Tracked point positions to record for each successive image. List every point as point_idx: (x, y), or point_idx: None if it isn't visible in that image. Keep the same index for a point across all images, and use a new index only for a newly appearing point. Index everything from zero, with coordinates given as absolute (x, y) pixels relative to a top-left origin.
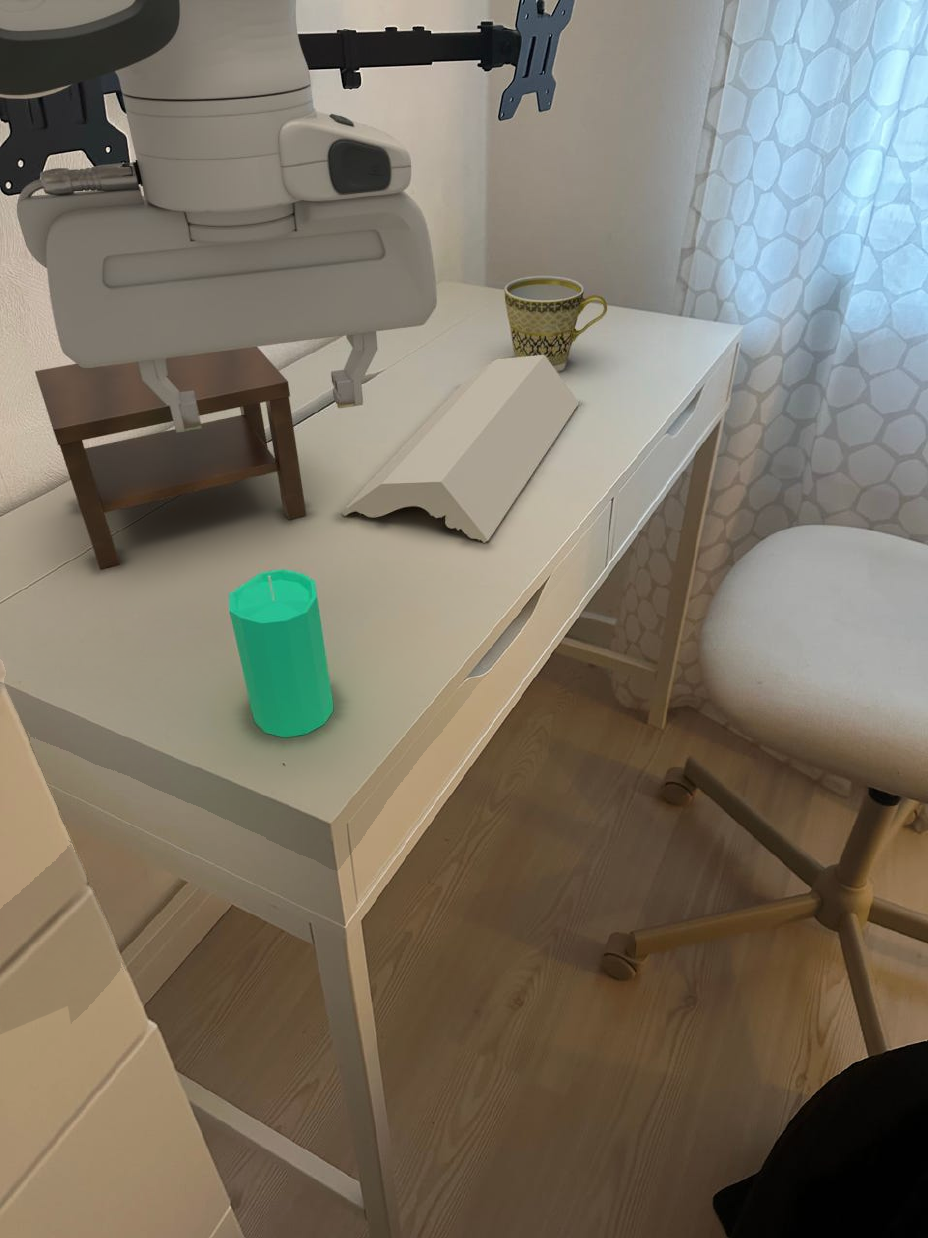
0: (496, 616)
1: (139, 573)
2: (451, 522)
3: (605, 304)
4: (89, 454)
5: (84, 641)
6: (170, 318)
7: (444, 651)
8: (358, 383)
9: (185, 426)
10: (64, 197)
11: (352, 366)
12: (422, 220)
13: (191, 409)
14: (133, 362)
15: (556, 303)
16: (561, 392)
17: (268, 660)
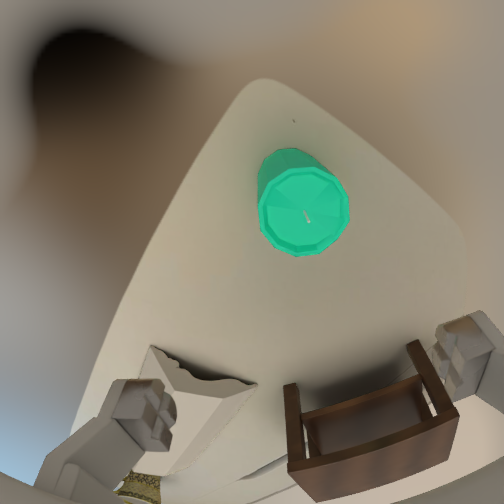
0: (137, 268)
1: (396, 335)
2: (174, 363)
3: None
4: (418, 418)
5: (432, 270)
6: None
7: (173, 233)
8: (103, 409)
9: (469, 317)
10: None
11: (111, 446)
12: None
13: (470, 346)
14: (392, 477)
15: (128, 495)
16: None
17: (307, 159)
